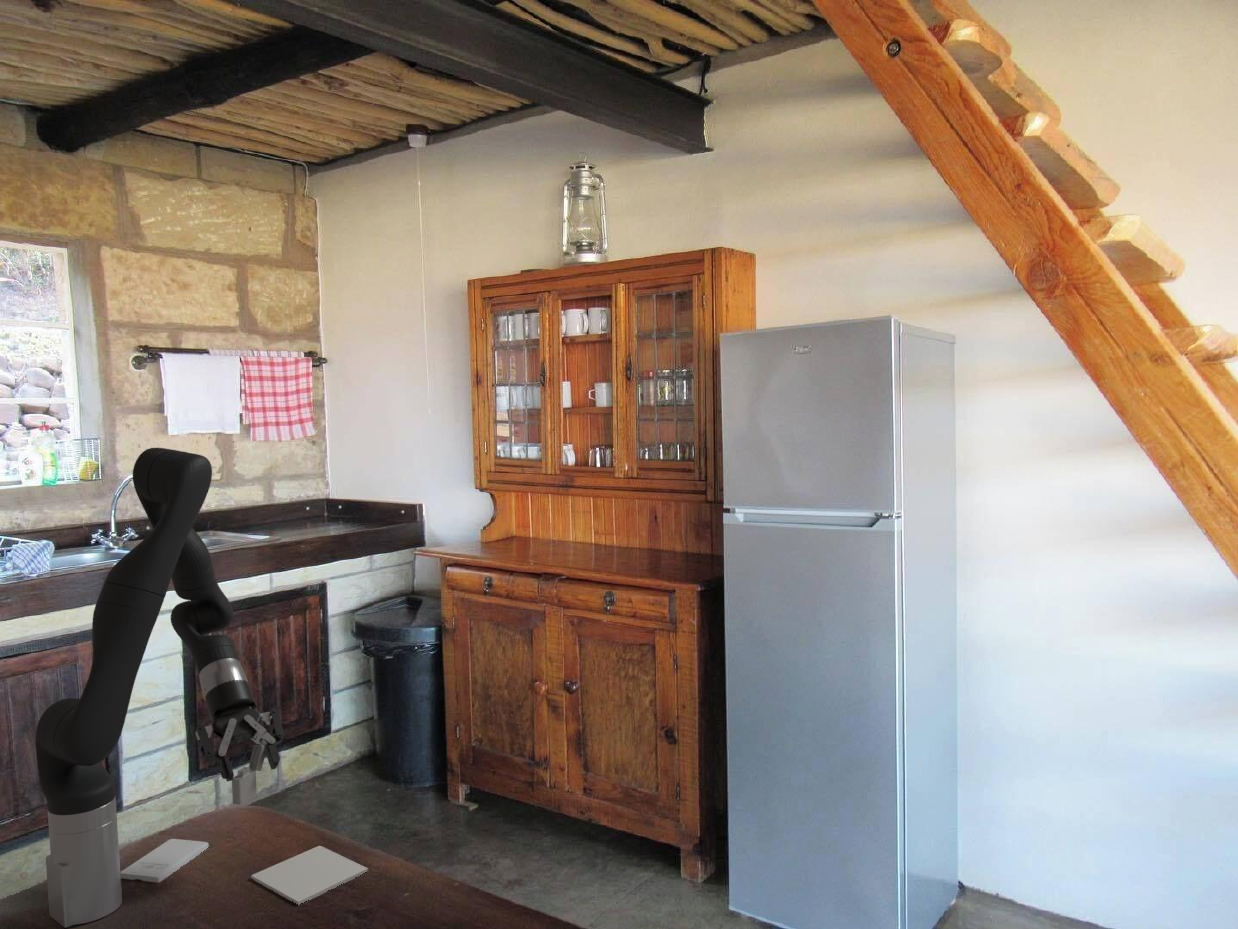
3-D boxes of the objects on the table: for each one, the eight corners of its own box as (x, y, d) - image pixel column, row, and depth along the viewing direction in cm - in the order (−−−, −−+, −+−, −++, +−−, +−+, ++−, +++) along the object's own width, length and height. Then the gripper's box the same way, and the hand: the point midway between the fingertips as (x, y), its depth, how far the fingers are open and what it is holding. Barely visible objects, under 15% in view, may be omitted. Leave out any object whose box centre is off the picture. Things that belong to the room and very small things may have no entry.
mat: (298, 905, 146) (298, 901, 146) (251, 879, 155) (251, 875, 155) (368, 872, 156) (367, 868, 156) (319, 848, 165) (319, 845, 165)
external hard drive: (209, 851, 166) (159, 886, 154) (170, 847, 168) (117, 881, 156) (208, 842, 166) (158, 876, 154) (169, 838, 168) (116, 872, 156)
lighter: (240, 804, 156) (238, 758, 156) (232, 803, 157) (229, 757, 156) (269, 788, 163) (267, 743, 162) (260, 787, 163) (258, 742, 163)
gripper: (188, 687, 160) (214, 773, 151) (271, 670, 169) (300, 751, 161) (180, 710, 164) (205, 795, 156) (262, 693, 173) (289, 772, 165)
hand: (253, 772), depth 158 cm, fingers closed on lighter, 7 cm apart
